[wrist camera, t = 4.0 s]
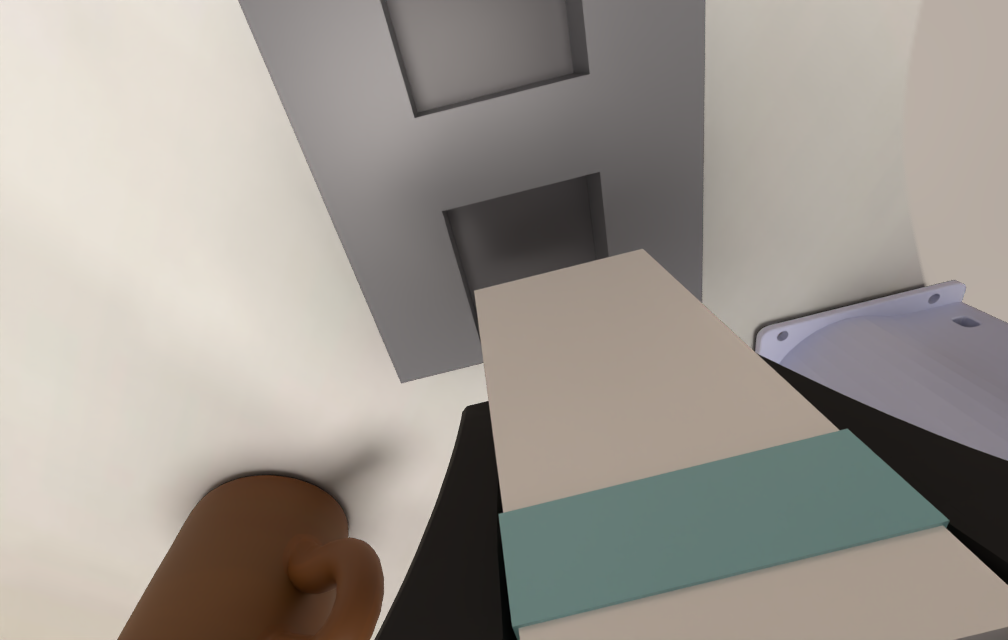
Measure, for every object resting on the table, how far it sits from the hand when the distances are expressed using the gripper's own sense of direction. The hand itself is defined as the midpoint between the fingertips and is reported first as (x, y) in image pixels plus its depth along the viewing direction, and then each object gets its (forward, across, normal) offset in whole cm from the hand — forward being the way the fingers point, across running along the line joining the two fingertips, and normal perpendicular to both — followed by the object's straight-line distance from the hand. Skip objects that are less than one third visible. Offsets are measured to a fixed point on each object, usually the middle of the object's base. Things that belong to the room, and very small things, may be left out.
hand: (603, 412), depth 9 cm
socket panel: (+10, 0, -4) cm, 10 cm away
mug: (+10, +14, +10) cm, 20 cm away
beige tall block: (+3, 0, 0) cm, 3 cm away
